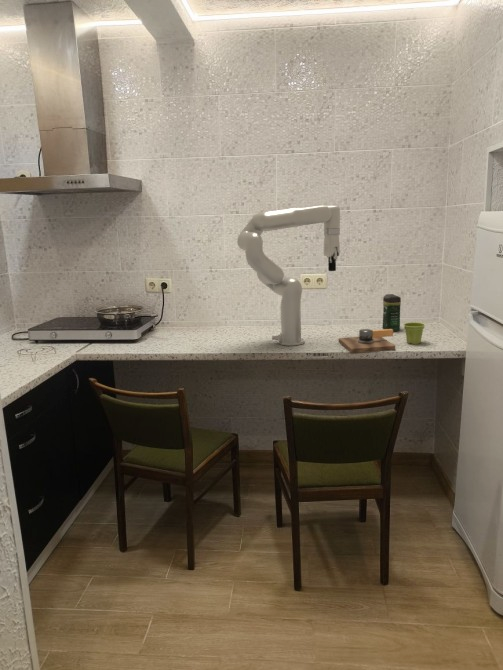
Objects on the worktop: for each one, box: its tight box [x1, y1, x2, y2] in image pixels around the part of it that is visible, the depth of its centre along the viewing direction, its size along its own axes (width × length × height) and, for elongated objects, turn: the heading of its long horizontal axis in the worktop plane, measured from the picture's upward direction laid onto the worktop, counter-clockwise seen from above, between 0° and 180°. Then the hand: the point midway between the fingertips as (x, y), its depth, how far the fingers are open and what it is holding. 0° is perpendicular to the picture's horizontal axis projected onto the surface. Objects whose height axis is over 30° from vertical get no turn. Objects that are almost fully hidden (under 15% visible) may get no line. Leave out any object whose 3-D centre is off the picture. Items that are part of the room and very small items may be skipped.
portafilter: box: [358, 328, 394, 341], centre depth 221 cm, size 8×16×4 cm, turn 96°
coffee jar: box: [382, 293, 402, 332], centre depth 248 cm, size 10×8×19 cm
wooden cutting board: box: [338, 336, 396, 354], centre depth 221 cm, size 20×20×3 cm
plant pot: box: [403, 321, 426, 345], centre depth 223 cm, size 9×9×9 cm
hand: (332, 270), depth 233 cm, fingers closed
